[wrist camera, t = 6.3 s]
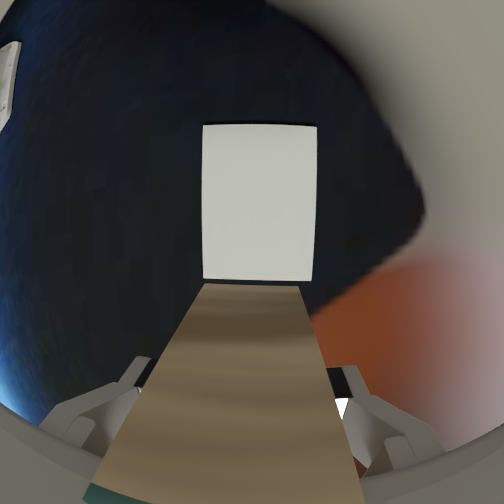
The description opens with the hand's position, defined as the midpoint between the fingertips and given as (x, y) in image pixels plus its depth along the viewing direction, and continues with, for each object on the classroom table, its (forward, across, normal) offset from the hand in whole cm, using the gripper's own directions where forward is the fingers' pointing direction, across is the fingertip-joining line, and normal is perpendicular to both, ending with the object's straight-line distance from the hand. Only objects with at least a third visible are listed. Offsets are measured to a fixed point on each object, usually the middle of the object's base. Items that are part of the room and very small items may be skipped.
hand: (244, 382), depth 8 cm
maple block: (+4, 0, 0) cm, 4 cm away
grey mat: (+17, 0, -5) cm, 18 cm away
